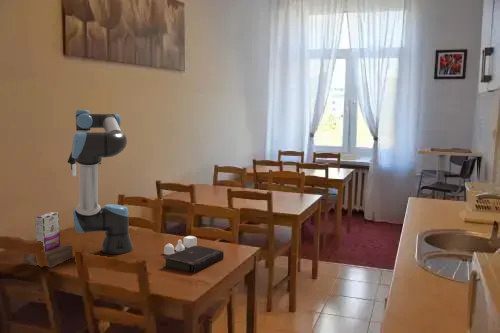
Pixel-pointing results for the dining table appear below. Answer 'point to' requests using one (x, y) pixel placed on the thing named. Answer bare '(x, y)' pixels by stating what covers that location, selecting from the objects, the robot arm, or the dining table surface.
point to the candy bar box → (48, 230)
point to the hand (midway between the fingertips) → (84, 176)
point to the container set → (181, 245)
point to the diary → (193, 258)
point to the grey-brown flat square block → (52, 256)
